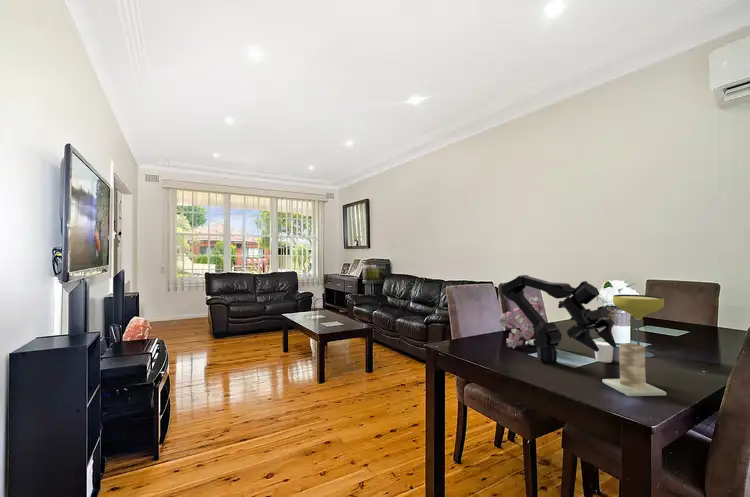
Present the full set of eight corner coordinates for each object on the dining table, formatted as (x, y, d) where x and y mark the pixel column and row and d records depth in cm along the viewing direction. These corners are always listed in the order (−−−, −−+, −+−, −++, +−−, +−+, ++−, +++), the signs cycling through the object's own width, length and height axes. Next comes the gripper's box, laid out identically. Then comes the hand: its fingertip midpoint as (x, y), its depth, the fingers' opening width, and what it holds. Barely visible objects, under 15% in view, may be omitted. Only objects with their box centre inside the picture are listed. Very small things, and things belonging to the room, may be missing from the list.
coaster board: (628, 396, 109) (628, 392, 109) (602, 382, 121) (602, 379, 121) (666, 395, 109) (666, 392, 109) (636, 381, 121) (636, 378, 121)
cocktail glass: (649, 362, 142) (647, 300, 143) (604, 351, 159) (603, 295, 159) (674, 356, 149) (673, 297, 150) (629, 346, 166) (628, 293, 166)
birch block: (619, 384, 116) (619, 344, 117) (628, 381, 119) (628, 342, 119) (636, 389, 112) (635, 348, 112) (645, 386, 114) (644, 346, 114)
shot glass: (617, 363, 141) (616, 345, 142) (598, 362, 143) (597, 345, 143) (609, 358, 148) (608, 341, 148) (591, 357, 150) (590, 341, 150)
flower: (493, 335, 185) (492, 294, 175) (538, 331, 182) (539, 290, 172) (503, 362, 167) (502, 319, 157) (553, 358, 164) (555, 314, 154)
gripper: (574, 301, 124) (605, 341, 114) (609, 296, 131) (641, 333, 122) (555, 319, 131) (582, 357, 122) (588, 313, 139) (617, 349, 129)
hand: (606, 348), depth 123 cm, fingers open, 9 cm apart
